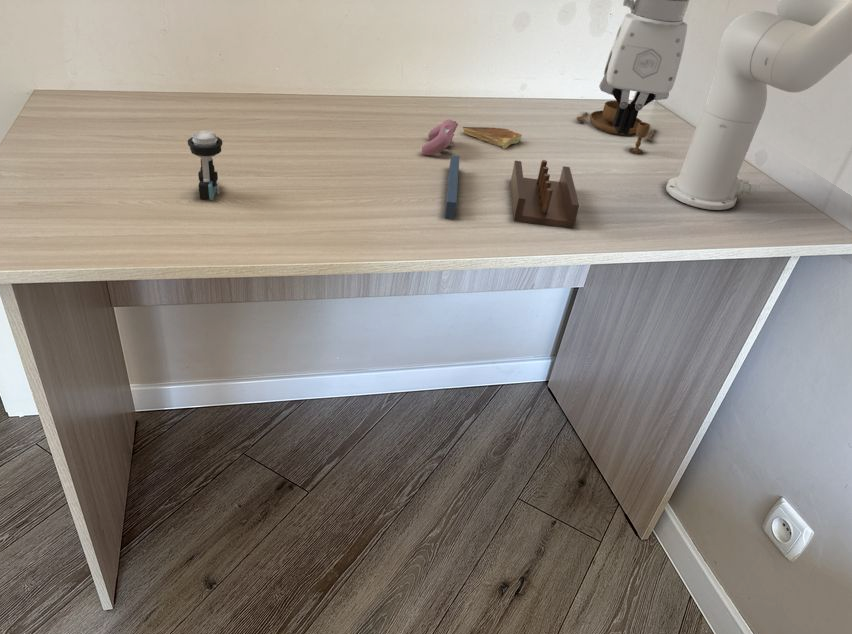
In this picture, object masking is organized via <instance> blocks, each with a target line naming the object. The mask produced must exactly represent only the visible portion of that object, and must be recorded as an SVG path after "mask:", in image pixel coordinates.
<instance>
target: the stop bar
mask: <svg viewBox="0 0 852 634" xmlns="http://www.w3.org/2000/svg"><path fill="white" fill-rule="evenodd" d="M459 171H460V156H459V155H452V154H451V155H450V161H449V168H448V177H447V187H446V197H445V198H446V200H445V210H444V218H445V219H451V220H455V215H456V212H457V211H456V210H457V204H458V203H457V202H458V191H459V188H458V187H459V173H460V172H459Z"/></svg>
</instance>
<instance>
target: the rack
mask: <svg viewBox="0 0 852 634" xmlns="http://www.w3.org/2000/svg"><path fill="white" fill-rule="evenodd" d="M513 162H514V163H513V167H512V173H511V176H510V191H511V204H512V214H513V221H514V222H519V223H527V224H537V225H543V226H552V227H560V228H570V229H574V227H575V223H576V219H577V216H578V212H579V209H580V206H581V205H580V201H579V198H578V195H577V194H578V193H577V190H576V185H575V182H574V179H573V174H572V172H571V167H570V166H562V169H561V173H560V176H559V181H557V180H550V177H551V174H549V173H548V172H549V167H548V166H547V165H548V161H547V160H546V159H542V160H541V162H540V165H539V166H540V167H539V171H538V176H537V178H531V177H525V176H524V173H523V164H522V163H523V162H522V161H521V160H514V161H513Z"/></svg>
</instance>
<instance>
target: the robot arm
mask: <svg viewBox="0 0 852 634" xmlns="http://www.w3.org/2000/svg"><path fill="white" fill-rule="evenodd" d="M689 3H690V0H623V5H622V6H623V7H627V8H629V9H630V13H629V12H628V13H626V14H625V16H624V17H623V20H622V22H621V24H620V26H619V28H618V31H617V33H616V36H615V38H614V40H613V43H612V46H611V48H610V51H609V54H608V57H607V60H606V64H605V67H604V72H603V75H604V76H603V77H602V79H601V81H600V82H599V85H598V86H599V89H600V91H601V92H603V93H605V94H608V95H611V96H613V98H614V99H615V101H617V102H618V104H619V105H618V108H617V112H616V115H615V118H614V122H613V125H614V126H615V129H616V131H617V133H618V134H621V133H623V134H624V135H623V136H629V135H628V133H629V130H630V128H632V129H633V127H634V124H635V121H636V118H638V114H639V111H641V110H642V109H643V108H644V107H645V106H647V105H648V104H650V103H651V102H652V101H661V100H667V99H669V96H670V92H671V91H672V89H673V87H674V85H675V82H676V79H677V76H678V72H679V68H680V65H681V61H682V56H683V52H684V48H685V43H686V38H687V31H688V24H687V23H686V22H685V21H684V18H685V15H686V12H687V9H688V6H689ZM776 13H777V14H775V13H771V12H767V11H759V10H758V11H757V10H756V11H749V12H746V13H742V14H741V15H738V16H737V17H735V18H734V19H733V20H732V21H731V22H730V23H729V24H728V25H727V27H726V28H725V30H724V32H723V34H722V36H721V40H720V43H719V46H718V52H717V58H716V64H715V70H714V74H713V79H712V82H711V85H710V87H709V88H710V89H709V91H708V95H707V98H706V101H705V103H704V105H703V108H702V111H701V114H700V117H699V119H698V123H697V125H696V127H695V131H694V132H693V136H692V139H691V142H690V144H689V147H688V150H687V153H686V156H685V159H684V161H683V164H682V167H681V170H680V172H679V175H678V176H675V177H672V178H670V179H669V180H668V181H667V183H666V185H665V190H666V192H667V193H668V194H669V196H671V197H672V198H674V199H675V200H677V201H678V202H680V203H683V204H684V205H685V204H686V205H688V206H691V207H694V208H697V209H698V208H699V209H703V210H710V211H723V210H724V211H725V210H728V209H731V208H733V207H734V206H735V205H736V203H737V201H738V196H740V195H741V194H744V195H749V196H758V195H759V194H760V192H761V185H760V184H752V183H749V182H750V181H749V180H748V179H739V178H738V175H739V172H740V170H741V167H742V165H743V163H744V162H745V161H744V160H745V158H746V156H747V153H748V150H749V149H750V146H751V143H752V141H753V139H754V137H755V134H756V133H757V132H756V131H757V129H758V127H759V124H760V122H761V120H762V117H763V115H764V112H765V110H766V106H767V101H768V86H770V87H772V88H776V89H778V90H781V91H783V92H787V93H801V92H804V91H806V90H808V89H810V88H812V87H813V86H815V85H816V84H818V83H819V82H820V81H821V80H823V79H824V78H825V77H827V75H829V73H831V72H832V71H833V70H835V68H837V67H838V66H839V65H840V64H841V63H842V62H844V60H846V59H847V58H848V57H850V55H852V0H777V2H776ZM631 92H635V94H634V96H633V98H632V100H631V102H630V103H629V101H630V94H631ZM628 103H629V104H628ZM618 134H617V135H618Z"/></svg>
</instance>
